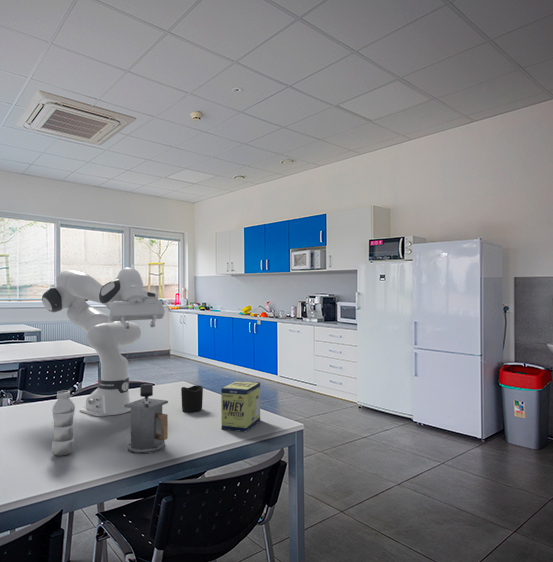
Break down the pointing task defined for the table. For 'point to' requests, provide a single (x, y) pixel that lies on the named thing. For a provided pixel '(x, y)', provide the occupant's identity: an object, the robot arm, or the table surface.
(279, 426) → the table surface
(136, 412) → the press carafe
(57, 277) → the robot arm
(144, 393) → the plunger
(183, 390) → the pen holder
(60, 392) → the plastic bottle
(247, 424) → the protein box
